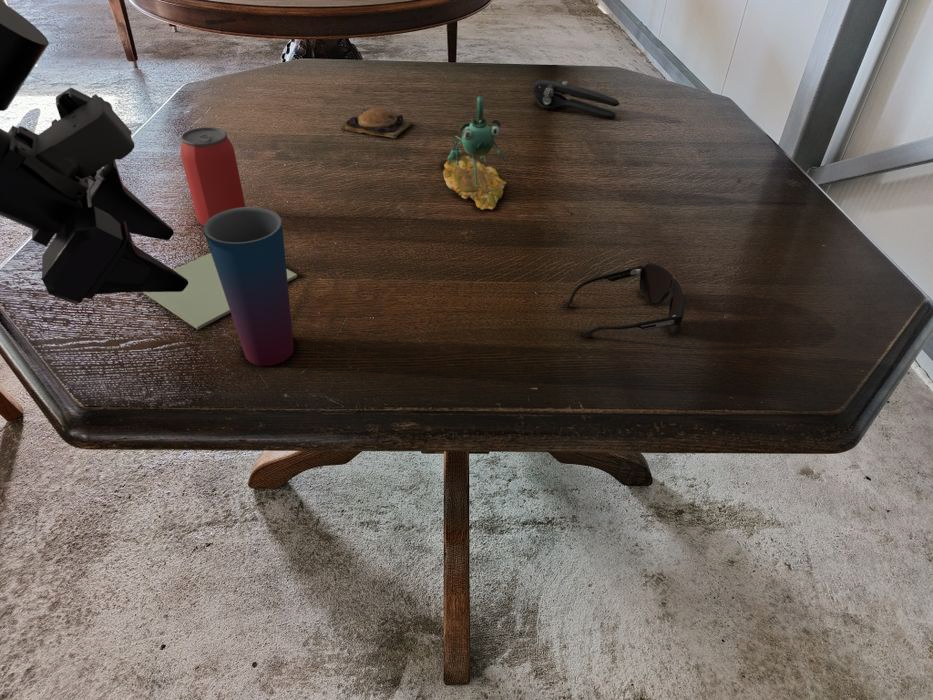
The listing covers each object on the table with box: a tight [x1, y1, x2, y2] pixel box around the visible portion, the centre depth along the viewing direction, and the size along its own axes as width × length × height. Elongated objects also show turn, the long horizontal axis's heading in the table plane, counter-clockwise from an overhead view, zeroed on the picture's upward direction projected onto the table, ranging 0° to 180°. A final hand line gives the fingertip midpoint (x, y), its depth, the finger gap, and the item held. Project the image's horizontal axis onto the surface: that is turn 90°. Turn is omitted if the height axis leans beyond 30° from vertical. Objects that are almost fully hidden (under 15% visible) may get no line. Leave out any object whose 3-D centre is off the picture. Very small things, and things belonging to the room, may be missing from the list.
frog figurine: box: [442, 95, 507, 211], centre depth 95 cm, size 10×18×15 cm, turn 13°
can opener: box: [533, 79, 620, 120], centre depth 125 cm, size 18×7×6 cm, turn 67°
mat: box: [142, 252, 298, 331], centre depth 75 cm, size 14×12×1 cm
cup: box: [203, 206, 295, 367], centre depth 62 cm, size 7×7×15 cm
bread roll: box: [344, 106, 412, 139], centre depth 115 cm, size 11×8×4 cm
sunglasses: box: [567, 262, 686, 339], centre depth 72 cm, size 10×12×5 cm
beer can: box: [180, 126, 247, 227], centre depth 83 cm, size 7×7×12 cm
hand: (178, 259), depth 56 cm, fingers open, 9 cm apart
